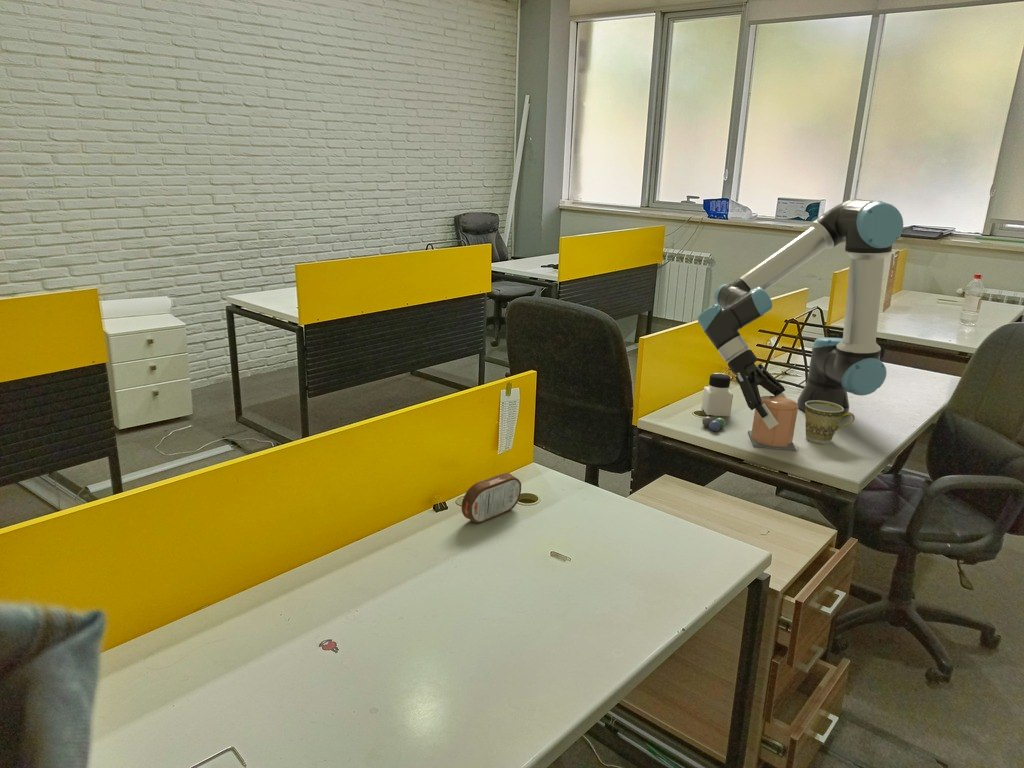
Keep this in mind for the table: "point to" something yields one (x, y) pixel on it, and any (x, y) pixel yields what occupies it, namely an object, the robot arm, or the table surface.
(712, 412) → the medicine bottle
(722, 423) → the bottle-green marble
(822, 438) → the ceramic cup
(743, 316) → the robot arm
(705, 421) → the charcoal marble
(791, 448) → the slate mat
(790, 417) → the peach domed post
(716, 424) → the navy marble
